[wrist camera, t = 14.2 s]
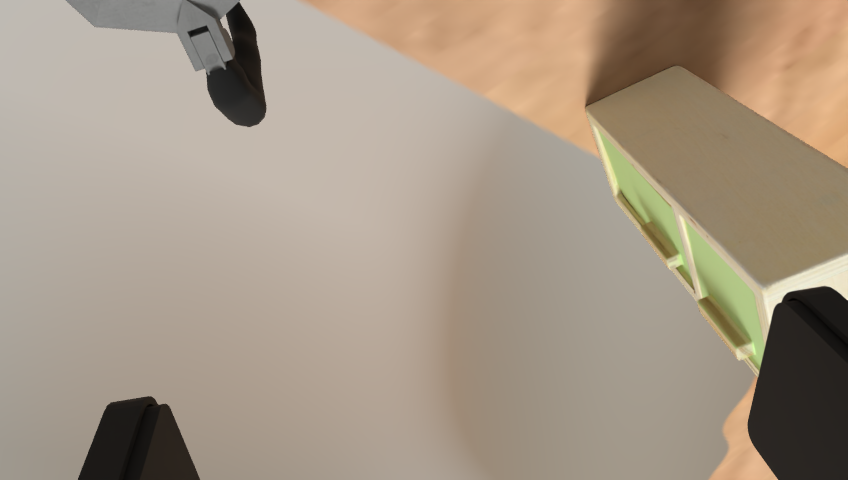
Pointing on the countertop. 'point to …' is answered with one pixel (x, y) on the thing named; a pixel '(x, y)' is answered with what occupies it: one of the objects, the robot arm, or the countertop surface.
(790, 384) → the robot arm
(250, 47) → the coffeepot
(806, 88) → the countertop surface
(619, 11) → the countertop surface
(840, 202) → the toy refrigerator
